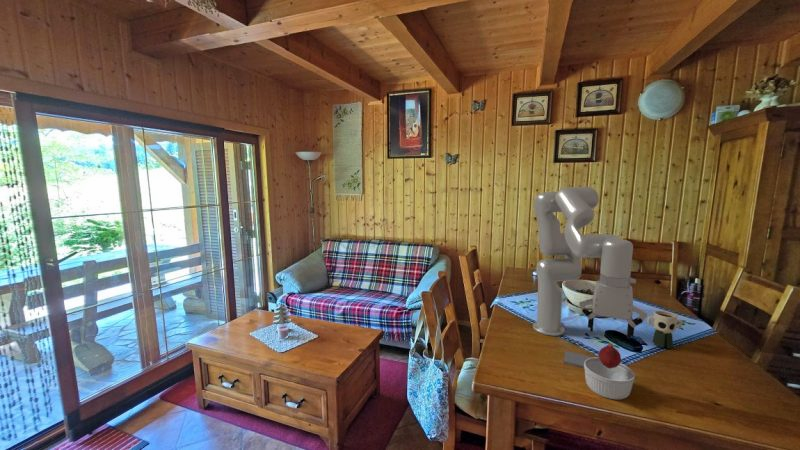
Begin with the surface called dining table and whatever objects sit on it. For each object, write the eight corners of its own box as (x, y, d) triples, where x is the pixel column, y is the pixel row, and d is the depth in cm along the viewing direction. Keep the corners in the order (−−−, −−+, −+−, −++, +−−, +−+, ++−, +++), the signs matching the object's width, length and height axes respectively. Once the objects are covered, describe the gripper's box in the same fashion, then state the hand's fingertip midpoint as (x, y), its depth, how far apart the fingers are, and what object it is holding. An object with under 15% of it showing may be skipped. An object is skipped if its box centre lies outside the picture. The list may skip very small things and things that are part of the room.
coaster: (565, 352, 122) (565, 350, 122) (589, 358, 118) (590, 356, 118) (563, 363, 115) (563, 361, 115) (589, 369, 111) (589, 367, 111)
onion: (623, 374, 97) (625, 349, 96) (602, 372, 98) (604, 347, 97) (614, 363, 102) (616, 340, 101) (595, 362, 103) (596, 338, 102)
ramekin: (628, 382, 104) (629, 362, 103) (638, 408, 92) (639, 385, 91) (581, 372, 110) (582, 353, 109) (584, 396, 98) (586, 374, 97)
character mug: (648, 347, 125) (651, 315, 123) (642, 339, 131) (645, 308, 129) (683, 352, 120) (687, 319, 119) (676, 343, 127) (679, 312, 125)
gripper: (648, 281, 95) (642, 335, 98) (581, 272, 104) (578, 322, 107) (652, 289, 89) (646, 346, 92) (580, 279, 98) (576, 332, 101)
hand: (609, 333), depth 99 cm, fingers open, 9 cm apart
